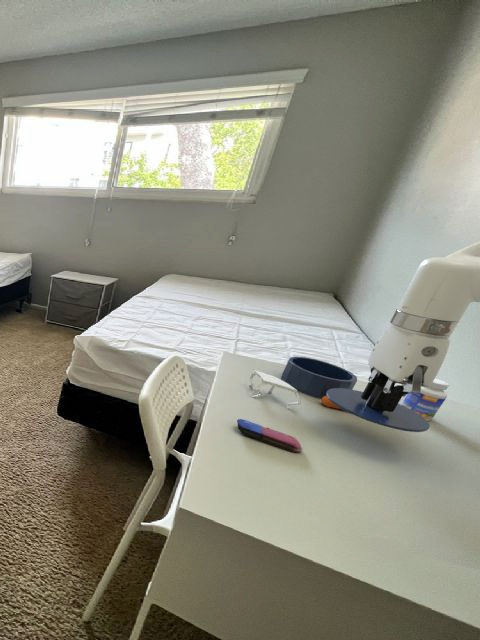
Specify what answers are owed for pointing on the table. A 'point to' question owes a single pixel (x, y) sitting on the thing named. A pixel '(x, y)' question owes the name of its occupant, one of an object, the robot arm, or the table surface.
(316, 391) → the pot
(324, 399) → the carrot
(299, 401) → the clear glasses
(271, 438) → the eraser
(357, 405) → the pot lid
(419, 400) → the pill bottle
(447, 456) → the table surface
